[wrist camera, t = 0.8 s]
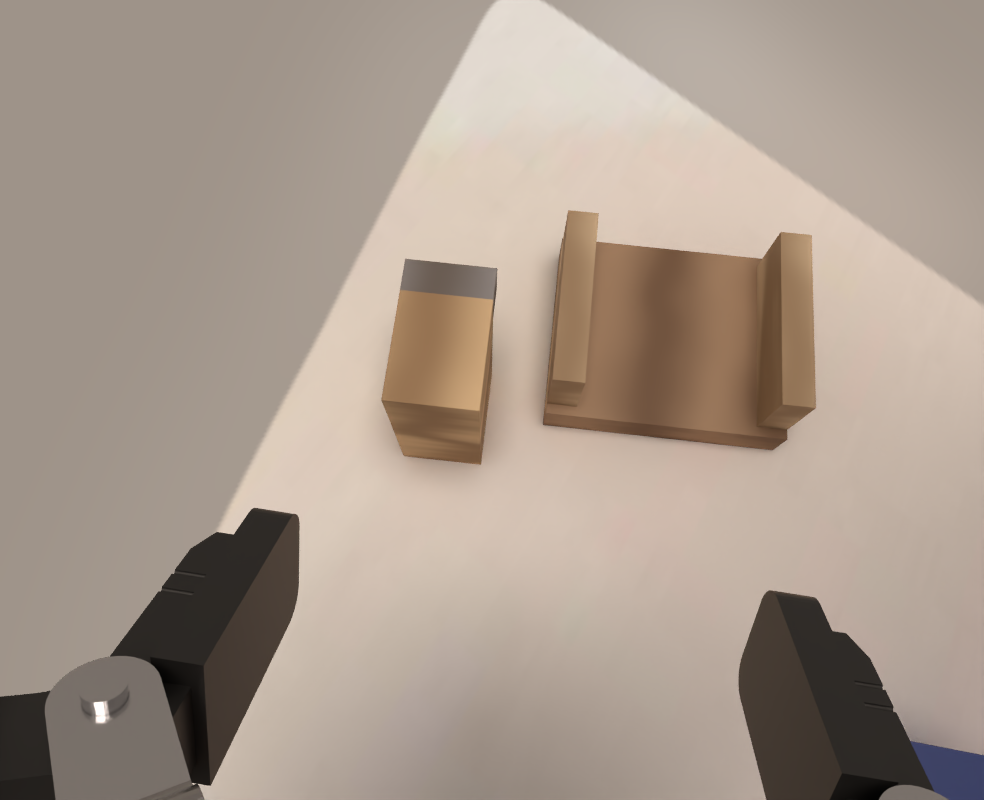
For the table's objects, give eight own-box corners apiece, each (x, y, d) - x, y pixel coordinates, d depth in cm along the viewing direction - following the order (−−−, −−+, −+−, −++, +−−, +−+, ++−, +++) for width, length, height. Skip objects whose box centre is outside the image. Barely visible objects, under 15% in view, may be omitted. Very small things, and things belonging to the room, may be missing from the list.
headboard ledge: (771, 278, 43) (811, 226, 38) (772, 449, 40) (816, 418, 34) (559, 256, 43) (569, 201, 38) (543, 424, 40) (551, 389, 35)
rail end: (494, 348, 41) (497, 268, 33) (480, 464, 39) (479, 410, 31) (421, 340, 42) (405, 258, 33) (404, 455, 39) (381, 400, 31)
